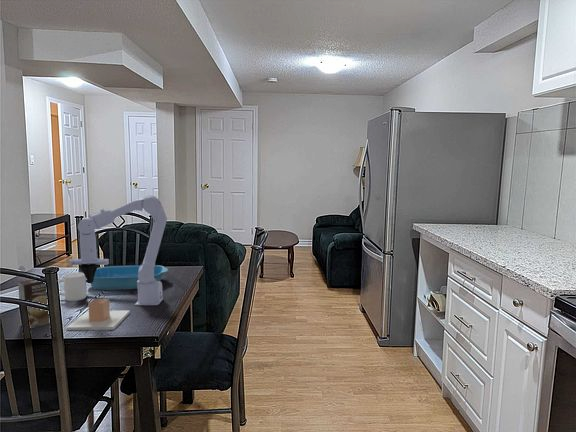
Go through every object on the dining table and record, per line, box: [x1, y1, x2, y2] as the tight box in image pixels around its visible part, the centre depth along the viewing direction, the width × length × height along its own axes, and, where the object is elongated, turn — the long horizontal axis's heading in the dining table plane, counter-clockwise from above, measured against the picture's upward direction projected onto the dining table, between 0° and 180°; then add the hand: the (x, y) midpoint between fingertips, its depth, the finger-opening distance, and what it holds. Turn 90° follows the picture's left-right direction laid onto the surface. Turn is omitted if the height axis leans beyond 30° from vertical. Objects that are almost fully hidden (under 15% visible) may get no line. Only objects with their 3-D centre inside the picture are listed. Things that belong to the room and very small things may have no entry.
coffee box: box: [17, 279, 50, 329], centre depth 146 cm, size 9×6×16 cm
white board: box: [66, 310, 131, 331], centre depth 149 cm, size 16×16×6 cm
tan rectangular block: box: [88, 298, 111, 321], centre depth 149 cm, size 5×5×7 cm
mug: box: [57, 271, 88, 302], centre depth 174 cm, size 12×8×10 cm
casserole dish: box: [89, 264, 169, 291], centre depth 195 cm, size 37×22×7 cm, turn 99°
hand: (90, 282), depth 162 cm, fingers closed
